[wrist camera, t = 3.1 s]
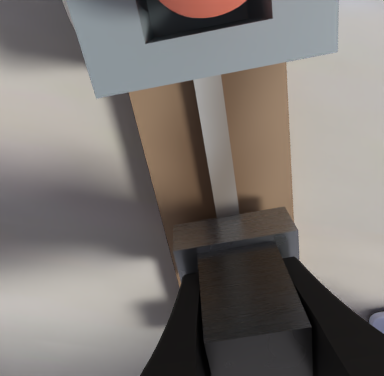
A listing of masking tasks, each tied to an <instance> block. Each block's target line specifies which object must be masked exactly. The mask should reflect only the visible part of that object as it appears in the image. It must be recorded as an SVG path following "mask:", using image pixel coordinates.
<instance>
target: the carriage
mask: <svg viewBox="0 0 384 376" xmlns="http://www.w3.org/2000/svg"><path fill="white" fill-rule="evenodd" d="M173 254H174V258H175V262H176V265H177V269H178V273H179V277H180V281H182V277H183V276H184V275H185V274H191V273H197V272H199V283H200V296H201V310H202V323H203V336H204V345H205V349H206V354H207V358H208V362H209V366H210V370H211V374H212V376H313V360H312V327H311V324H310V322H309V320H308V317H307V315H306V312H305V310H304V308H303V305H302V303H301V301H300V298H299V296H298V294H297V291H296V289H295V287H294V284H293V282H292V280H291V277H290V275H289V273H288V270H287V268H286V266H285V263H284V261H283V259H282V258H287V257H293V256H294V257H296V258H297V259H298V260H299V240H298V229H297V227H296V226H295V224H294V222H293V220H292V219H291V217H290V215H289V213H288V211H287V210H286V208H285V206H284V207H278V208H272V209H266V210H260V211H254V212H248V213H242V214H237V215H231V216H225V217H219V218H213V219H207V220H201V221H195V222H190V223H184V224H178V225H174V228H173Z"/></svg>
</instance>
